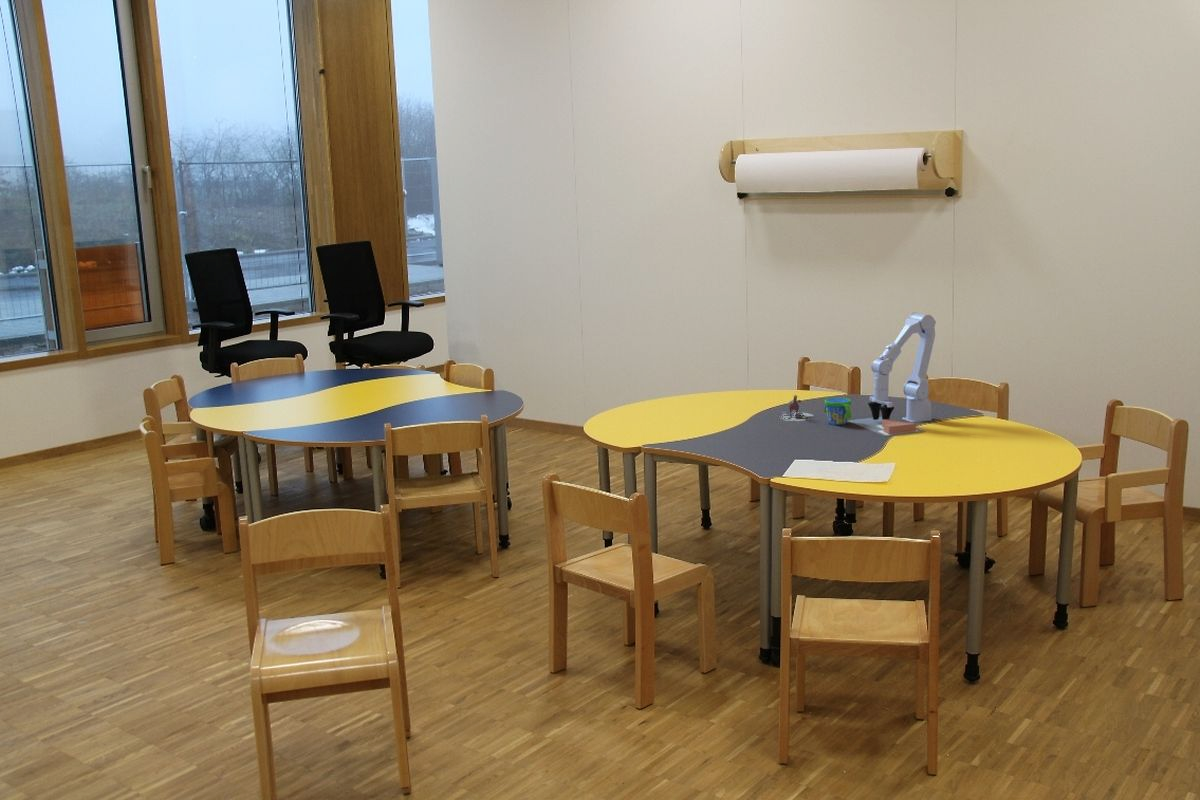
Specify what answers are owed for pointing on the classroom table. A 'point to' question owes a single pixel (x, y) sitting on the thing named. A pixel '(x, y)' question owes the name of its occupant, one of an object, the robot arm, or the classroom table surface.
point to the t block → (897, 426)
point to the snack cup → (837, 410)
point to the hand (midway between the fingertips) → (880, 421)
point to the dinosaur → (794, 406)
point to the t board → (878, 426)
